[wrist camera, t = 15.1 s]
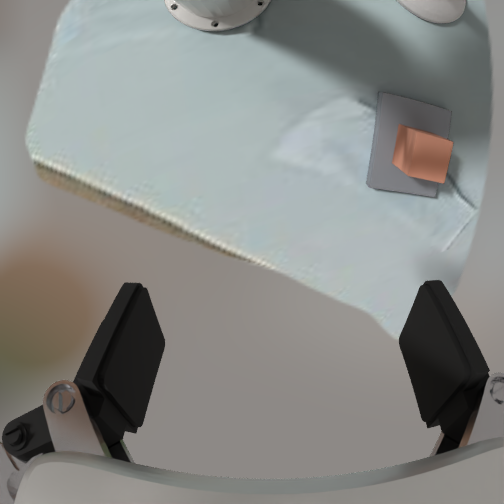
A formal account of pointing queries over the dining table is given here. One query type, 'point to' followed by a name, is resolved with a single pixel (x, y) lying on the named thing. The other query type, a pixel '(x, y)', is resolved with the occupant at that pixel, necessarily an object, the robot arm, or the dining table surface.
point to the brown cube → (422, 154)
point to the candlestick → (435, 9)
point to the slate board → (385, 133)
